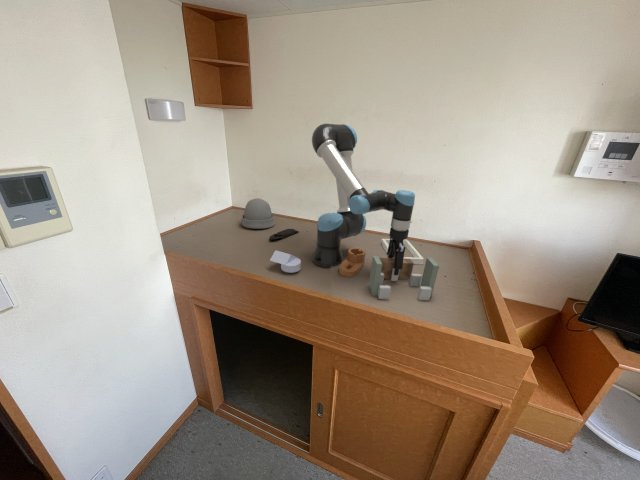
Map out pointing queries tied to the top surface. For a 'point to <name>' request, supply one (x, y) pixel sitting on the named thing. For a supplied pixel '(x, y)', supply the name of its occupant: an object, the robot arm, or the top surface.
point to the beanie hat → (257, 215)
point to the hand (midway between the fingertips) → (391, 275)
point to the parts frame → (417, 257)
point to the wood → (283, 234)
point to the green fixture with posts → (415, 280)
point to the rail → (403, 273)
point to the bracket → (352, 262)
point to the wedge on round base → (286, 261)
